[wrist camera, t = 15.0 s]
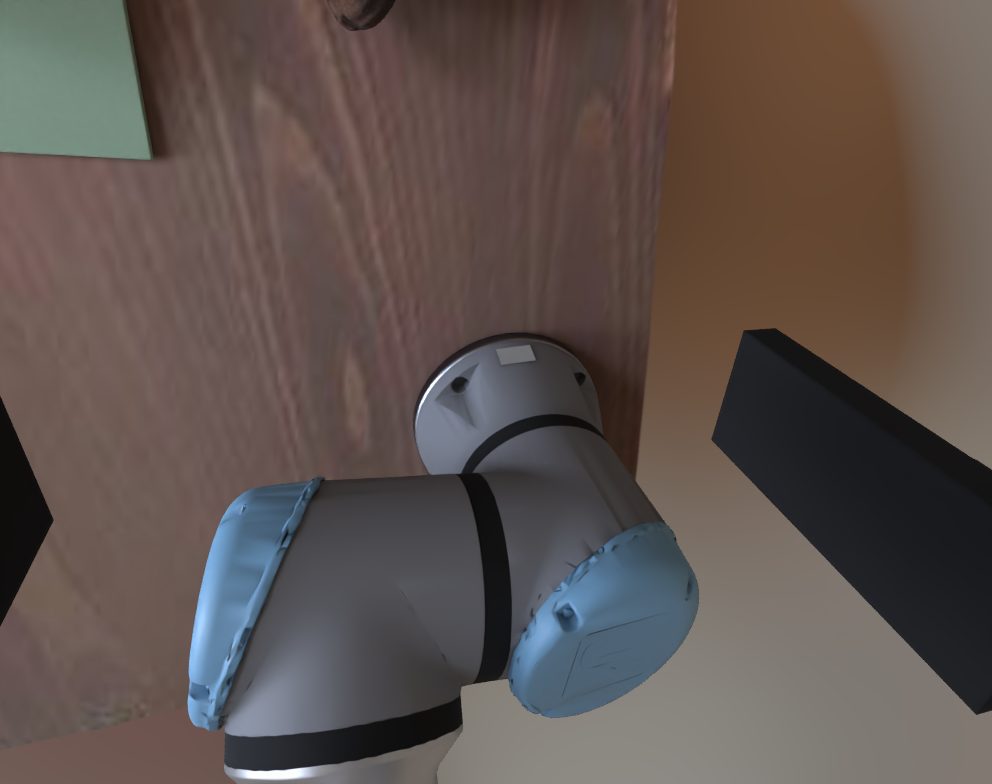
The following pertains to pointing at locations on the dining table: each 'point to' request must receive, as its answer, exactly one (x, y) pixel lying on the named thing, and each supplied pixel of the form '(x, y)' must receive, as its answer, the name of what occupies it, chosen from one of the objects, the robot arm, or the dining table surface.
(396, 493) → the robot arm
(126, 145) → the placemat
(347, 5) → the pottery mug
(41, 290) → the dining table surface
